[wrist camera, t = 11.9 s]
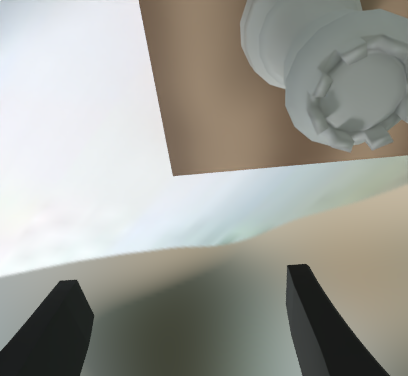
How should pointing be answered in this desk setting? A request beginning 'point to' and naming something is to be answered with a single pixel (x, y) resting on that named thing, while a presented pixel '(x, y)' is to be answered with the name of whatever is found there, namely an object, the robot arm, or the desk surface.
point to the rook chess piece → (332, 66)
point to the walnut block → (231, 94)
